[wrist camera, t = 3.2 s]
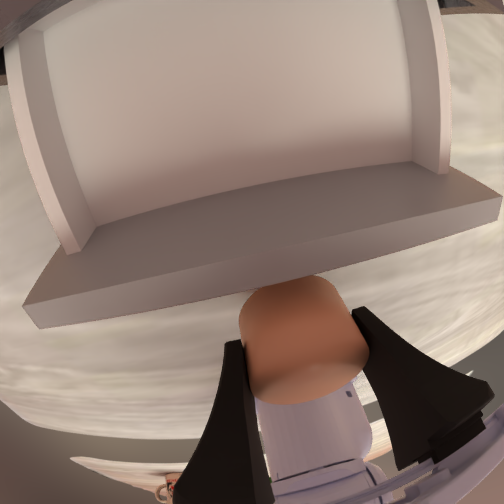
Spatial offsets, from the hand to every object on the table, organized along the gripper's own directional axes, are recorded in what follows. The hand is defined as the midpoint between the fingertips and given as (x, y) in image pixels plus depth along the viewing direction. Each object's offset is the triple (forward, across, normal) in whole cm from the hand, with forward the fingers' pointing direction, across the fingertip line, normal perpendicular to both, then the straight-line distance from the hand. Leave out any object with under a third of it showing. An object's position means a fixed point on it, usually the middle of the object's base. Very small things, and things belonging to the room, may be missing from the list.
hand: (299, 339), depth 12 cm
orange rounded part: (+2, 0, 0) cm, 2 cm away
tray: (+4, 0, -11) cm, 12 cm away
